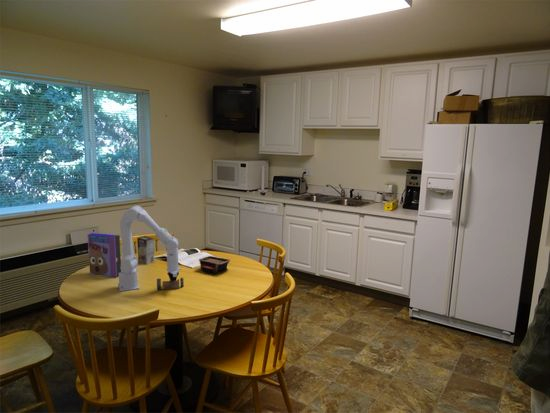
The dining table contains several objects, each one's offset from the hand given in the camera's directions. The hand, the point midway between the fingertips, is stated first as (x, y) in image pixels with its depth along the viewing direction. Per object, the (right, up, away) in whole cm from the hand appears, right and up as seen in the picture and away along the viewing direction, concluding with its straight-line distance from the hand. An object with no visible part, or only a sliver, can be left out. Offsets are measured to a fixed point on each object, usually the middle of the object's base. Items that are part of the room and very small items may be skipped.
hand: (173, 285), depth 201 cm
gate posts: (-1, -2, -1) cm, 2 cm away
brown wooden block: (-1, -1, -1) cm, 2 cm away
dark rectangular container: (+17, +3, +28) cm, 33 cm away
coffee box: (-28, +6, +41) cm, 50 cm away
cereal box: (-44, +2, +17) cm, 47 cm away
